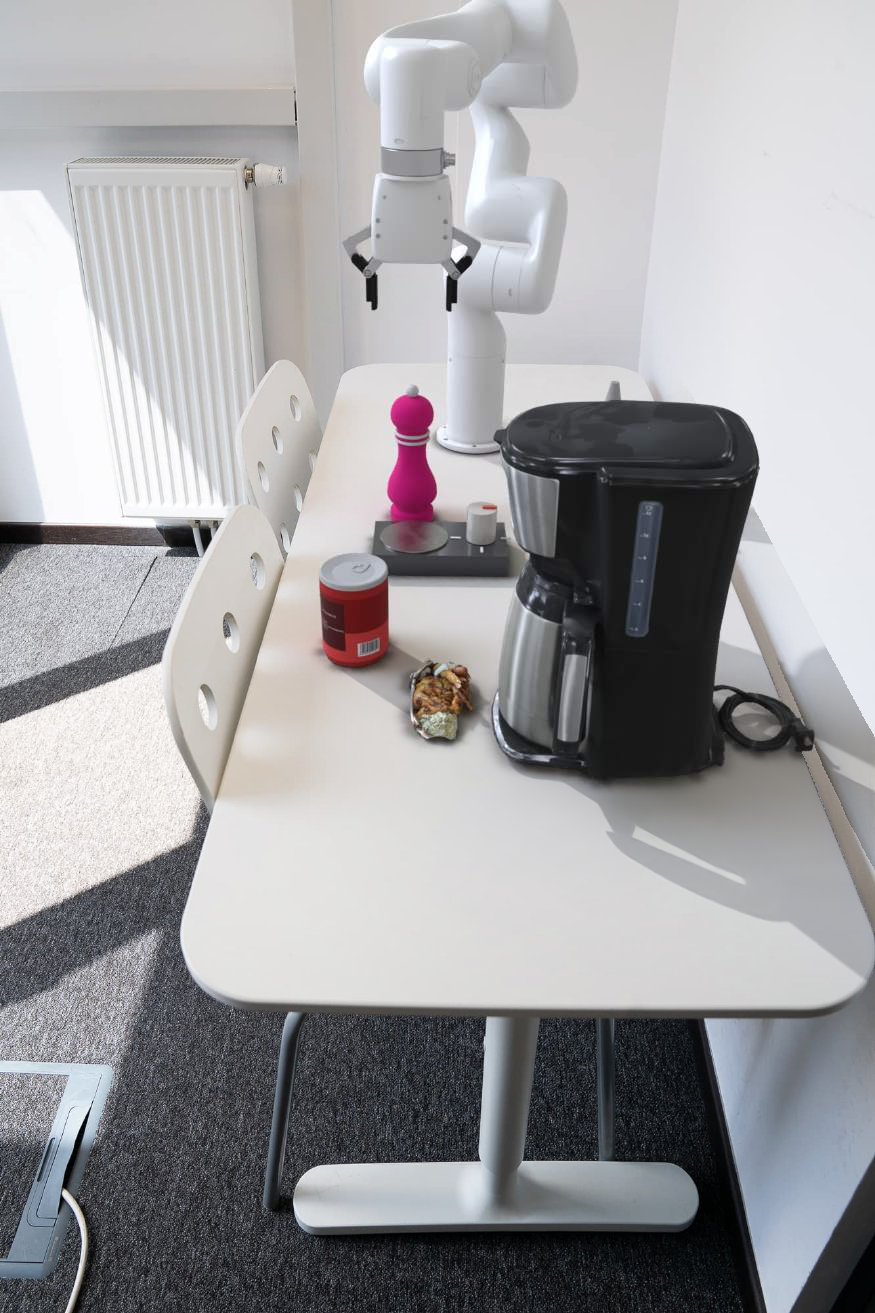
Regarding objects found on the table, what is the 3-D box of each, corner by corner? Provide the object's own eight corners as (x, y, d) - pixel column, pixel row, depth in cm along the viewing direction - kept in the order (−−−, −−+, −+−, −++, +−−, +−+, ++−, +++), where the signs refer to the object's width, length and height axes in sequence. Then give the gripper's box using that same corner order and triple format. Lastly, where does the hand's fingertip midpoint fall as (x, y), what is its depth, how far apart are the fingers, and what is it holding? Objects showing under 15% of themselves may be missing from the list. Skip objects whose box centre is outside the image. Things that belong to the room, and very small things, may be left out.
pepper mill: (386, 507, 153) (384, 376, 142) (434, 506, 154) (436, 375, 142) (388, 529, 147) (386, 394, 136) (438, 528, 148) (441, 393, 137)
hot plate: (372, 575, 136) (371, 553, 134) (375, 539, 145) (375, 519, 143) (512, 576, 136) (513, 555, 135) (507, 541, 145) (508, 521, 143)
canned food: (398, 638, 123) (398, 558, 117) (373, 674, 117) (371, 591, 111) (340, 626, 125) (336, 547, 119) (312, 661, 119) (307, 579, 113)
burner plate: (381, 522, 143) (381, 520, 142) (447, 522, 143) (447, 520, 142) (378, 553, 135) (378, 551, 135) (448, 554, 135) (448, 552, 135)
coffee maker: (461, 681, 116) (471, 392, 97) (719, 643, 124) (775, 368, 105) (527, 815, 98) (555, 492, 79) (825, 762, 105) (915, 454, 87)
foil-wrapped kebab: (409, 742, 107) (409, 714, 105) (408, 675, 117) (408, 649, 115) (476, 741, 107) (477, 714, 105) (469, 675, 117) (470, 649, 115)
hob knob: (466, 545, 137) (467, 512, 134) (465, 531, 140) (466, 499, 138) (496, 545, 137) (498, 512, 135) (494, 531, 141) (496, 499, 138)
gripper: (482, 160, 127) (477, 301, 136) (342, 157, 127) (347, 299, 136) (485, 169, 121) (479, 317, 130) (338, 166, 121) (342, 315, 130)
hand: (411, 308), depth 133 cm, fingers open, 9 cm apart
